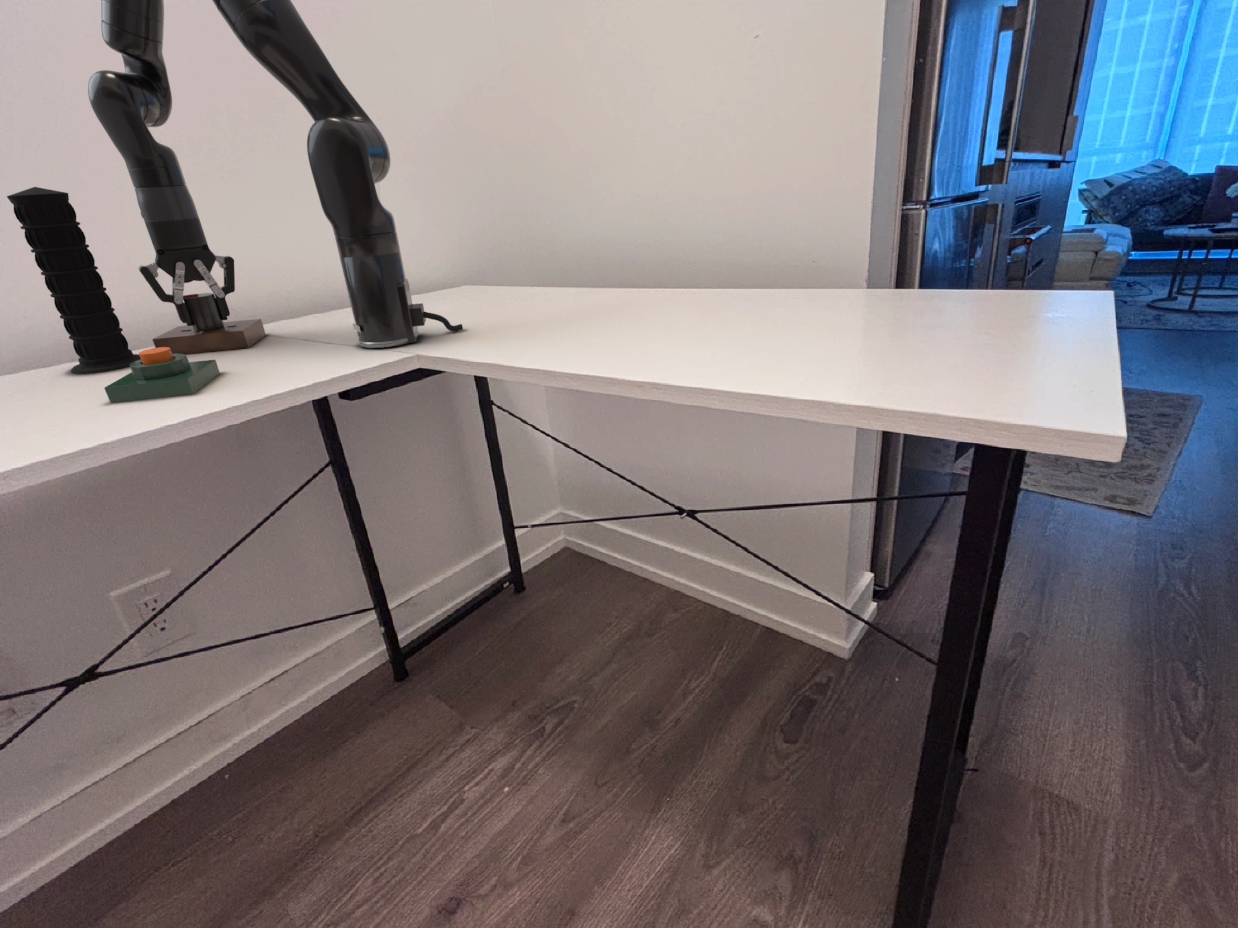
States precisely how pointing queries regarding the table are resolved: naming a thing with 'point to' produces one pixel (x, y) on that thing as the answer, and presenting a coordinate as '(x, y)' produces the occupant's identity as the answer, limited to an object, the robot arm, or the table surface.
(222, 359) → the table surface
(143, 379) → the button box
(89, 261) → the handle grip
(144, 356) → the button
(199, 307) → the dial
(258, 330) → the panel
